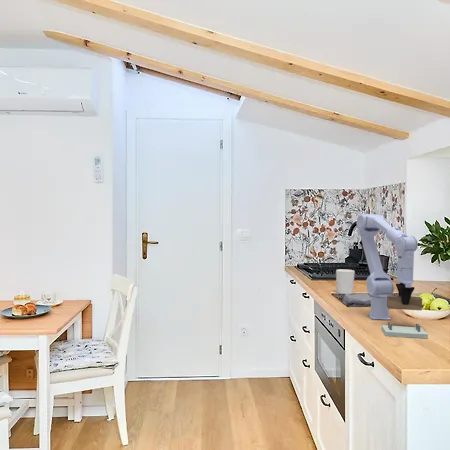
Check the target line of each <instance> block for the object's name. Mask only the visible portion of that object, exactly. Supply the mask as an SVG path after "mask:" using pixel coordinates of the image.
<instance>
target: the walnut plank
mask: <svg viewBox="0 0 450 450" xmlns="http://www.w3.org/2000/svg"><path fill="white" fill-rule="evenodd" d="M387 307H388V309H389V310H402V311H403V310H405V311H406V310H407V311H422V309H423V298H422V297H421V296H412V295H411V297H410V301H409V304H408V305H403V304H402V299H401V296H399V295H393V294H391V295H387Z"/></svg>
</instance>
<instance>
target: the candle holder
mask: <svg viewBox="0 0 450 450" xmlns="http://www.w3.org/2000/svg"><path fill="white" fill-rule="evenodd" d="M355 273H356V272H355V270H354V269H353V270H352V269H346V268H345V269H341V268H340V269H336V270H335V276H336V277H335V279H336V280H335V281H336V293H337V294H342V295H346V294H352V295H353V293H354V283H355Z"/></svg>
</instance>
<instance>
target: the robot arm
mask: <svg viewBox="0 0 450 450" xmlns="http://www.w3.org/2000/svg"><path fill="white" fill-rule="evenodd" d="M355 223H356V227H357V230H358V235H360V236H359V237H360V240H361V243H362V247H363V251H364V255H365V259H366V262H367V266H368V270H369V273H370V275H368V276H367V278H366V280H365V282H366V291H367V294H368V295H369V296H370V297H371V304H370V312H368V313H367V315H368V316H369V318H370V319H371V320H385V321H386V320H388V321H389V320H390V321H391V320H392V318H391V317H390V315H389V314H390V309H388V307H387V295H393V293H394V292H395V287H396V290H397V293H398V296H401V299H402V304H403V305H408V304H409V301H410V297H411V296H412V294H413V292H414V290H415V286H412V285H413V283H414V264H415V262H414V260H415V259H414V258H415V252H416V251H417V249H418V245H419V243H418V240H417V239H416V237H415V236H413V235H411V236H409V235H408V234H407V233H406V232H404V231H402V230H400V227H399V226H392V225H390V224H389V223H388V222H387V221H386V220H385V217H384V216H383V215H382V214H379V213H377V214H373V213H372V214H371V213H369V214H367V213H359V215H358V217H357V219H356V222H355ZM380 231H381V232H383V233H384V234H385V236H386V239H387V240H388V241H390V242H391V244H393V245H394V248H395V250H396V256H397V268H396V269H397V271H396V273H397V274H396V275H397V277H396V278H394V279H393V280H392V279H391V276H390V275H389V274H387V272H385V271H384V268H383V266H382V265H383V264H382V262H381V258H380V255H379V250H378V248H377V244H376V240H375V237H376V236H378V234H379V233H380ZM394 282H397V283H395V284H394Z"/></svg>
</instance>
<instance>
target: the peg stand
mask: <svg viewBox="0 0 450 450" xmlns="http://www.w3.org/2000/svg"><path fill="white" fill-rule="evenodd" d="M381 331H382V332H383V334H384V336H385V337H395V338H409V339H410V338H412V339H413V338H414V339H428V335H429V334H428V333H427V332H426V331H425V330H424V329H423V328H422V327H421V325H419V323H416V324H415V326H401V325H400V326H399V325H393V324H392V322H390V321H388V322H387V324H386V325H383V324H381Z"/></svg>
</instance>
